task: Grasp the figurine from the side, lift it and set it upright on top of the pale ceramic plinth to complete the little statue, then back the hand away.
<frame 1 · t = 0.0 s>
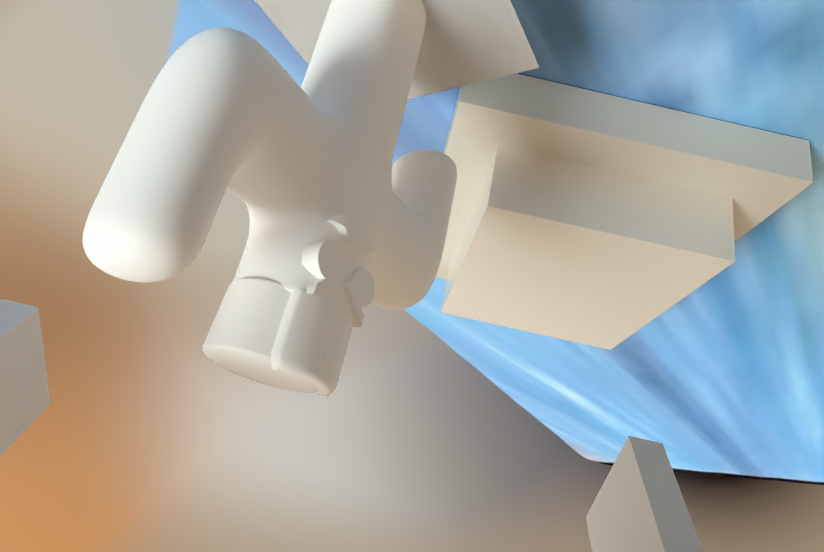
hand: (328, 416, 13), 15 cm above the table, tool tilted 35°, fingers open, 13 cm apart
plinth: (569, 204, 31), on the table
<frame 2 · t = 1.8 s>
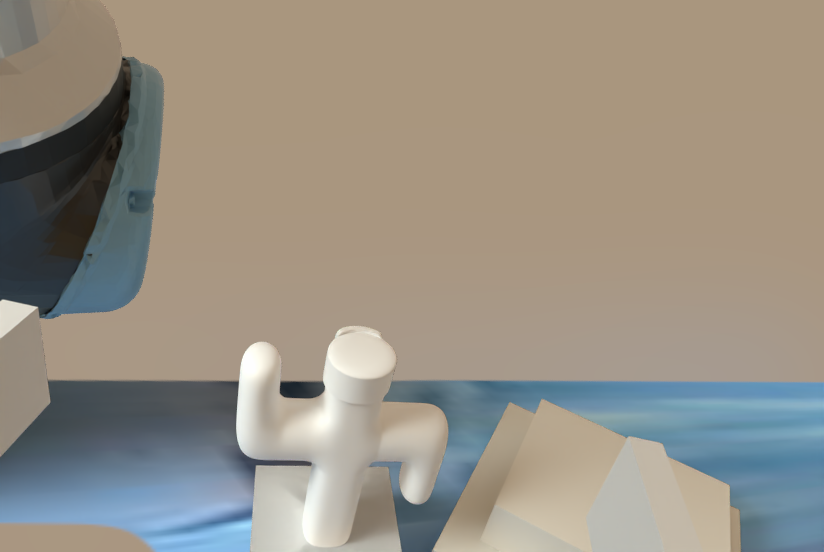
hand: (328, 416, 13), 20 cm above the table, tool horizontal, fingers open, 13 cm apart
plinth: (589, 548, 36), on the table
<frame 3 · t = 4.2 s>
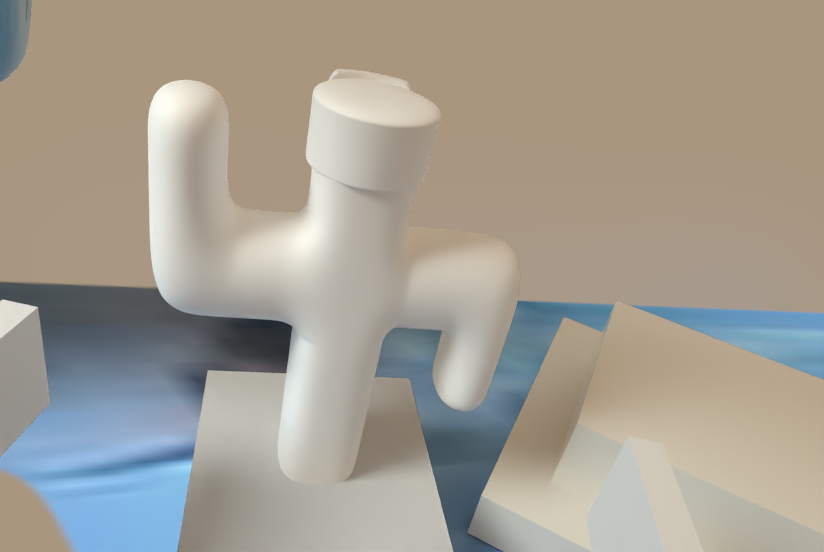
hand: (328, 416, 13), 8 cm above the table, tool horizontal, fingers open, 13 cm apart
figurine: (303, 530, 21), on the table
plinth: (697, 502, 25), on the table
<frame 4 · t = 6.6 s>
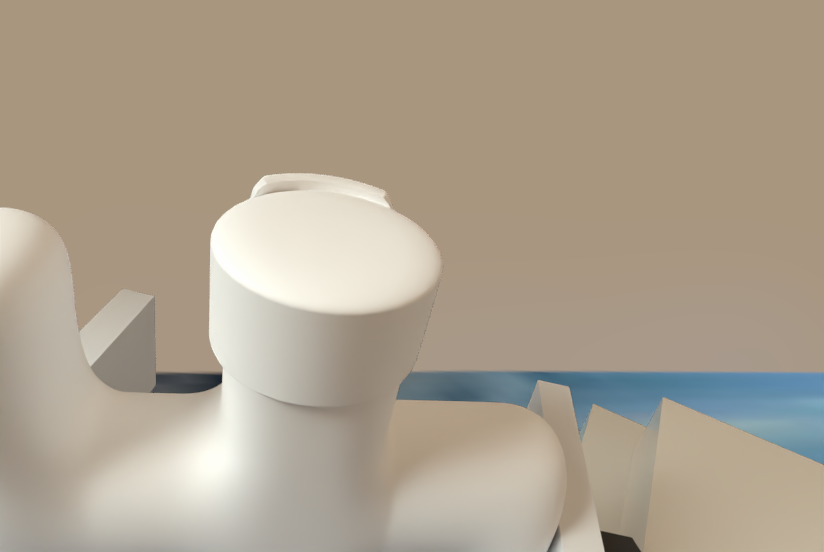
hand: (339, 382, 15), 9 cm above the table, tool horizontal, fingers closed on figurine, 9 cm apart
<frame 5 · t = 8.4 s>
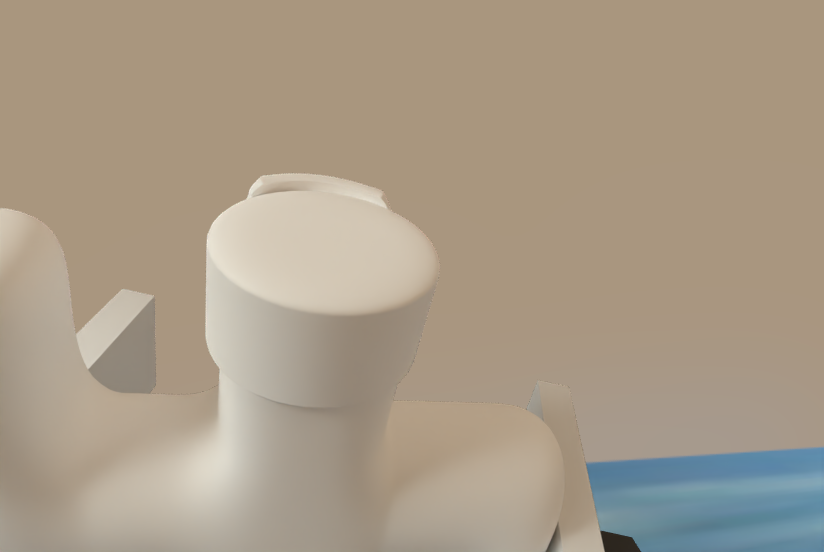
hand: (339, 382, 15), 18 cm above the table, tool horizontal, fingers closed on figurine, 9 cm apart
when the fingers open (15 cm above the table, at t = 10.8 s): figurine drops 1 cm, resting on plinth.
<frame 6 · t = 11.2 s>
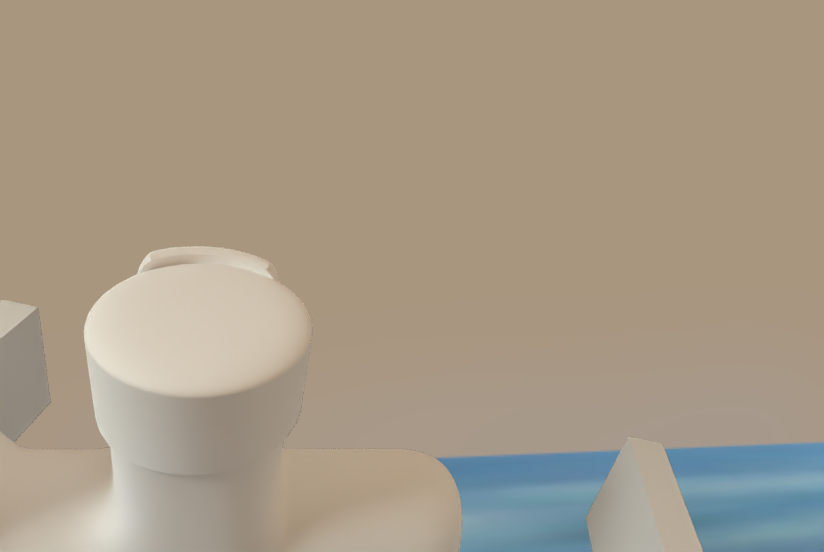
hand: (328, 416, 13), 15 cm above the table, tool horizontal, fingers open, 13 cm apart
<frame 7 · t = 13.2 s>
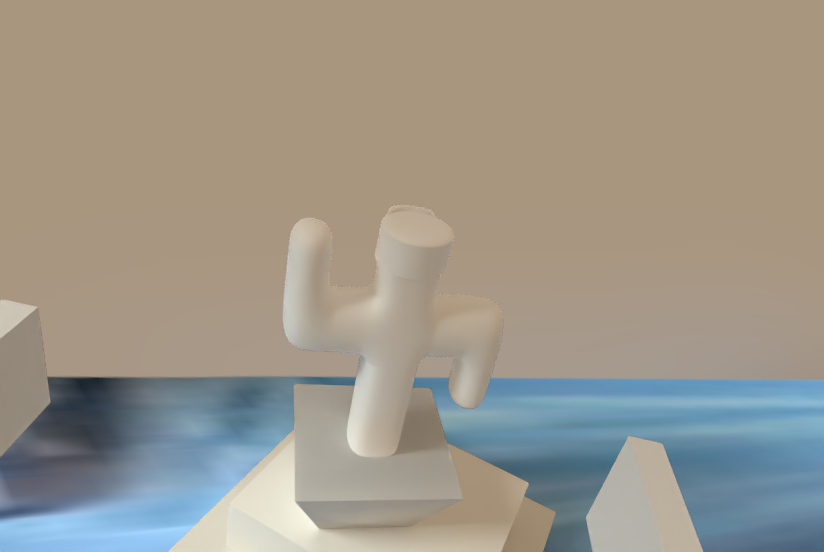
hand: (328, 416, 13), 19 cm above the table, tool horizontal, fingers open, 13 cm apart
figurine: (360, 493, 30), point 5 cm above the table, touching plinth
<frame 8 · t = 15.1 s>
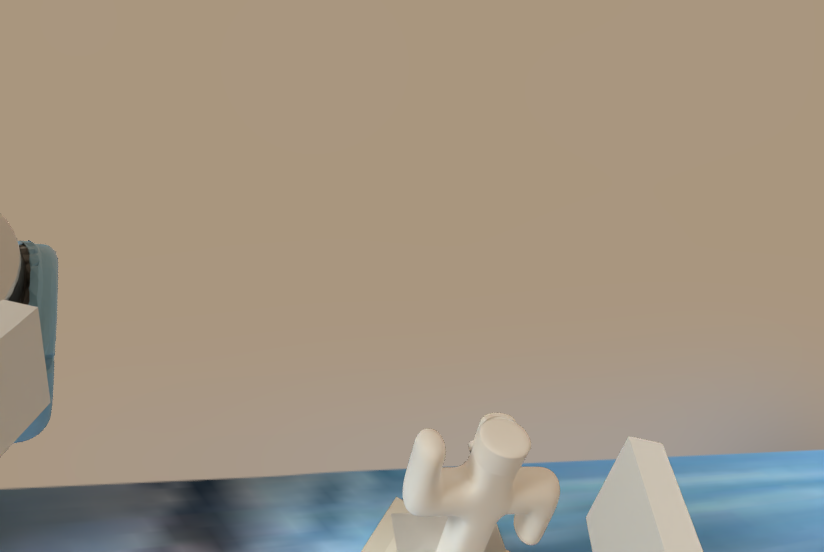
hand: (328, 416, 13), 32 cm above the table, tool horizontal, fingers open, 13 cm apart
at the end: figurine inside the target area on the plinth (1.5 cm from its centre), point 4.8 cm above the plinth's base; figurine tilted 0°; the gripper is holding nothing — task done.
